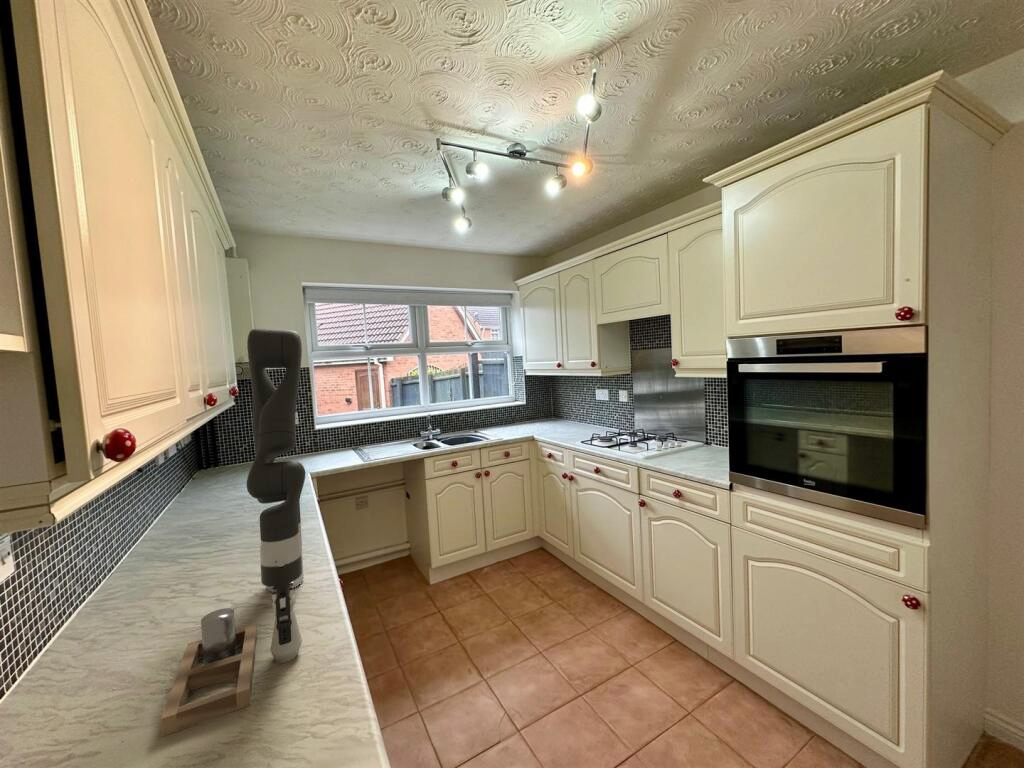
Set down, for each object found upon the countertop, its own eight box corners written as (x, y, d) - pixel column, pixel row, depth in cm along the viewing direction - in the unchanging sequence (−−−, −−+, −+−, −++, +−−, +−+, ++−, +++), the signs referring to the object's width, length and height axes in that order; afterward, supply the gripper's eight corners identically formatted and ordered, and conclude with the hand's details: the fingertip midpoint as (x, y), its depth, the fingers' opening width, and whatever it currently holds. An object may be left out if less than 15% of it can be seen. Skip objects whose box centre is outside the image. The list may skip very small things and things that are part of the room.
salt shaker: (295, 643, 91) (292, 585, 90) (307, 654, 87) (304, 594, 87) (266, 658, 86) (263, 597, 86) (277, 670, 83) (274, 607, 82)
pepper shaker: (206, 659, 86) (203, 613, 86) (238, 650, 89) (235, 605, 89) (201, 676, 81) (198, 627, 81) (235, 666, 84) (232, 618, 84)
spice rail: (188, 657, 87) (187, 643, 87) (257, 637, 93) (256, 624, 93) (162, 736, 68) (160, 718, 68) (250, 704, 74) (249, 688, 74)
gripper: (261, 548, 91) (265, 620, 91) (258, 575, 78) (263, 658, 79) (300, 540, 94) (303, 609, 95) (302, 565, 82) (306, 644, 82)
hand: (285, 631), depth 87 cm, fingers open, 8 cm apart
